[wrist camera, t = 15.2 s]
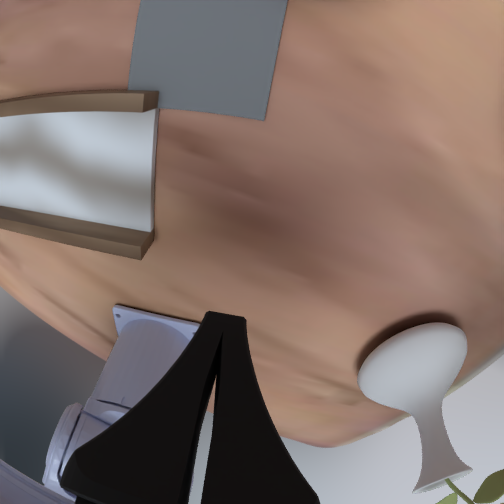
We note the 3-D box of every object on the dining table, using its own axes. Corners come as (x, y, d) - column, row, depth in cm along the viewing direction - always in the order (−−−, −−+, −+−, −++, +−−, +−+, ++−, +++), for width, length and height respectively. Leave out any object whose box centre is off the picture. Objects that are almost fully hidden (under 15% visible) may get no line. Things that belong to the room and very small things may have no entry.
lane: (153, 240, 20) (141, 260, 18) (-46, 202, 19) (-60, 212, 17) (161, 90, 14) (144, 93, 12) (-57, 114, 14) (-74, 122, 12)
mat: (264, 120, 15) (264, 120, 15) (128, 105, 15) (126, 106, 15) (290, -12, 11) (290, -13, 11) (147, -17, 11) (145, -19, 10)
